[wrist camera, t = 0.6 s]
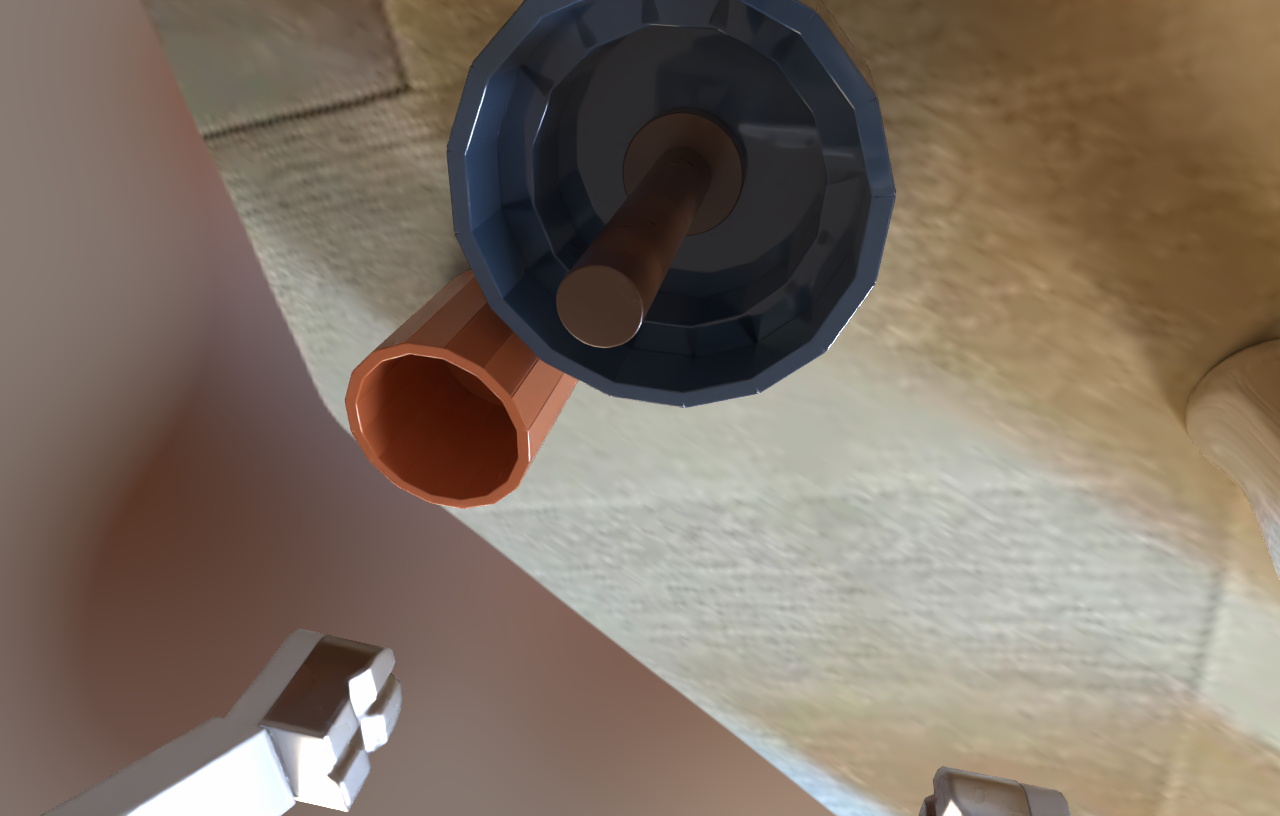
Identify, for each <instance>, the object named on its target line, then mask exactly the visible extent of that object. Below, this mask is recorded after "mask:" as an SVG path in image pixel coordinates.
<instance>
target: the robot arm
mask: <svg viewBox="0 0 1280 816" xmlns="http://www.w3.org/2000/svg"><path fill="white" fill-rule="evenodd" d="M395 664H396V662H395V658H394V655H393V651H392V649H388V648H384V647H379V646H375V645H370V644H366V643H361V642H357V641H352V640H348V639H344V638H339V637H335V636H332V635H328V634H323V633H318V632H313V631H309V630H304V629H298V630H297V631H295V632H294V633H292V634H291V635H290V636H288V637H287V638H286V640H285V641H284V642H283V644H282V645H281V646H280V647H279V649H278V650H277V651H276V653H275V654H274V655H273V656H272V658H271V659H270V660H269V661H268V663H267V664H266V666H265V667H264V668H263V669H262V671H261V672H260V673H259V674H258V676H257V677H256V678H255V679H254V681H253V682H252V683H251V685H250V686H249V687H248V689H247V690H246V691H245V692H244V694H243V695H242V696H241V697H240V699H239V700H238V701H237V703H236V704H235V705H234V706H233V708H232V709H231V710H230V712H229V713H228V714H227V715H226V717H225V718H224V717H219V716H215V717H213V718H211V719H210V720H208V721H206V722H205V723H203V724H201V725H199V726H197V727H196V728H194V729H192V730H191V731H189V732H187V733H185V734H183V735H181V736H180V737H178V738H176V739H175V740H173V741H171V742H169V743H167V744H166V745H164V746H162V747H160V748H159V749H157V750H155V751H153V752H152V753H150V754H148V755H146V756H145V757H143V758H141V759H139V760H137V761H136V762H134V763H132V764H130V765H129V766H127V767H125V768H123V769H122V770H120V771H118V772H116V773H115V774H113V775H111V776H109V777H108V778H106V779H104V780H102V781H101V782H99V783H97V784H95V785H94V786H92V787H90V788H88V789H86V790H85V791H83V792H81V793H79V794H78V795H76V796H74V797H73V798H70V799H69V800H67V801H65V802H63V803H62V804H60V805H58V806H56V807H55V808H53V809H51V810H49V811H48V812H46V813H44V814H42V815H41V816H281V815H282V814H283V813H285V812H286V811H287V810H288V809H290V808H291V807H292V806H293V805H295V803H296V802H295V800H298V801H303V802H307V803H312V804H316V805H321V806H325V807H330V808H334V809H339V810H344V811H348V810H349V809H350V807H351V805H352V803H353V801H354V800H355V798H356V796H357V794H358V793H359V791H360V789H361V787H362V785H363V783H364V782H365V780H366V778H367V776H368V775H369V772H370V771H371V764H370V756H369V754H370V753H371V752H373V751H375V750H376V749H378V748H379V747H380V746H382V745H384V744H385V743H386V742H387V740H388V738H389V736H390V734H391V733H392V731H393V729H394V727H395V725H396V722H397V718H398V715H399V712H400V709H401V705H402V688H401V684H400V681H399V680H398V679H397V678H396V677H395V676H394V675H393V674H392V673H391V671H392V669H393V667H394V666H395ZM933 786H934V794H933V795H931V796H929V797H926V798H925V799H924V802H923V804H922V807H921V810H920V812H919V816H1071V814H1070V810H1069V806H1068V803H1067V801H1066V799H1065V798H1064V796H1063V795H1062V793H1061V792H1059V791H1057V790H1054V789H1049V788H1044V787H1039V786H1034V785H1029V784H1024V783H1018V782H1017V781H1014V780H1009V779H1004V778H999V777H994V776H989V775H984V774H979V773H974V772H969V771H964V770H958V769H953V768H948V767H941V768H939V769H938V770H937V772H936V774H935V776H934V779H933Z"/></svg>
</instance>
